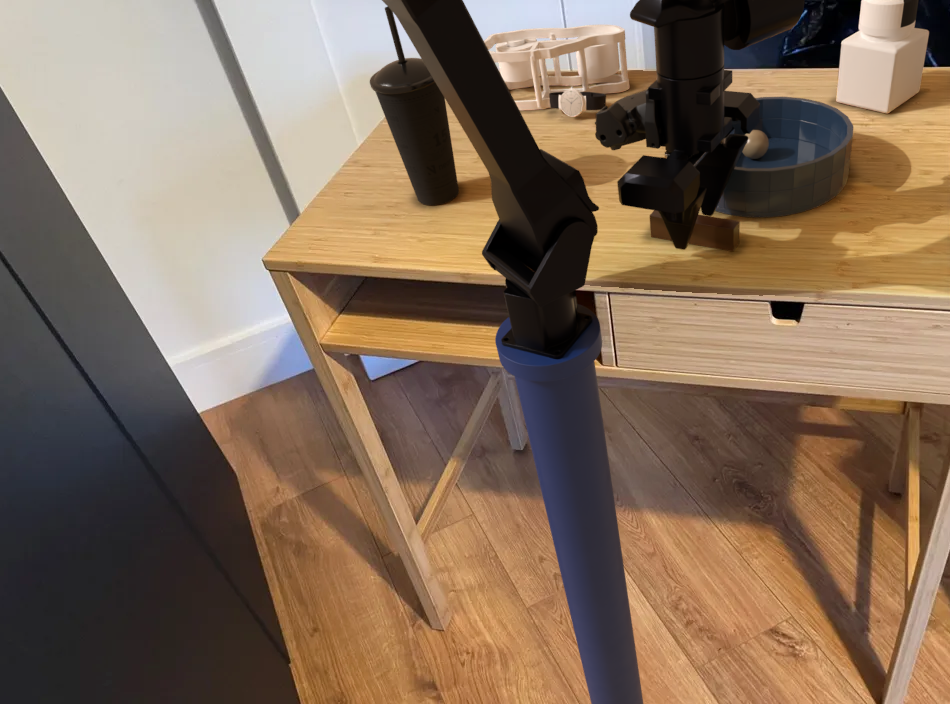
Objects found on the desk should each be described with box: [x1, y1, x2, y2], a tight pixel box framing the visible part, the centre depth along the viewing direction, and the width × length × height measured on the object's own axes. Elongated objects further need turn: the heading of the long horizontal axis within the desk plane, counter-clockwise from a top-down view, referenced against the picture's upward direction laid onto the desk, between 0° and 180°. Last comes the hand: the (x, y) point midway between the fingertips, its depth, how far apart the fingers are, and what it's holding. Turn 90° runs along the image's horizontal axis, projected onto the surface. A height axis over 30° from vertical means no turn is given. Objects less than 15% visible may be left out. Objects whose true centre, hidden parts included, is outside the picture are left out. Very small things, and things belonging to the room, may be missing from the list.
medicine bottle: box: [835, 0, 930, 115], centre depth 94 cm, size 7×7×12 cm
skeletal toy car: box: [483, 24, 630, 111], centre depth 109 cm, size 20×11×7 cm, turn 78°
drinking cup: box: [369, 6, 460, 206], centre depth 87 cm, size 8×8×20 cm
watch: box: [549, 86, 607, 118], centre depth 104 cm, size 8×5×4 cm, turn 67°
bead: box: [742, 130, 769, 159], centre depth 89 cm, size 3×3×3 cm
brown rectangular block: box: [649, 210, 741, 252], centre depth 80 cm, size 2×9×2 cm, turn 61°
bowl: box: [715, 96, 854, 218], centre depth 86 cm, size 17×17×5 cm
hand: (694, 231), depth 80 cm, fingers open, 6 cm apart
